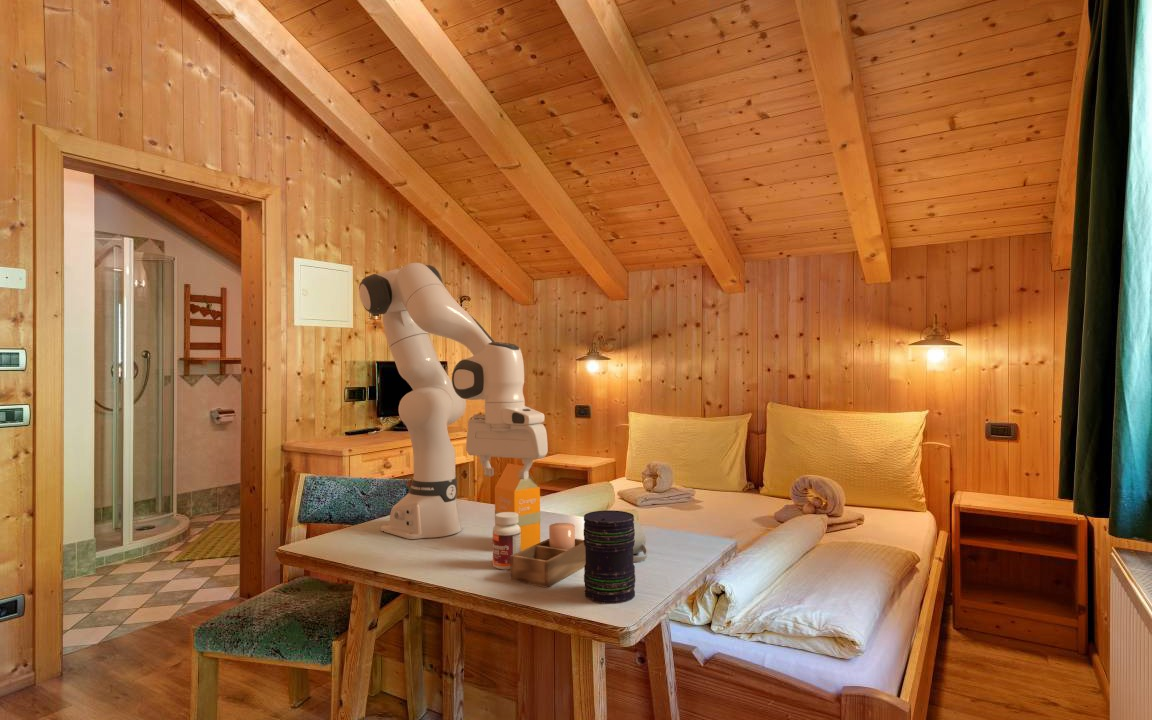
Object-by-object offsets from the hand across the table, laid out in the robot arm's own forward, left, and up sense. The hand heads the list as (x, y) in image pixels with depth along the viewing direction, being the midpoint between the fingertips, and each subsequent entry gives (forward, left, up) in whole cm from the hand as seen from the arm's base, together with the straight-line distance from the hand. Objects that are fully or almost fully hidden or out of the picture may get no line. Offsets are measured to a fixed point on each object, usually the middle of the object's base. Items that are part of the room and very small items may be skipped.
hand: (506, 477), depth 138 cm
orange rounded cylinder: (+11, +5, -19) cm, 22 cm away
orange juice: (-7, +14, -20) cm, 25 cm away
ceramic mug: (+20, +19, -20) cm, 34 cm away
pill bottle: (0, 0, -20) cm, 20 cm away
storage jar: (+28, -5, -20) cm, 35 cm away
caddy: (+11, +1, -19) cm, 22 cm away
